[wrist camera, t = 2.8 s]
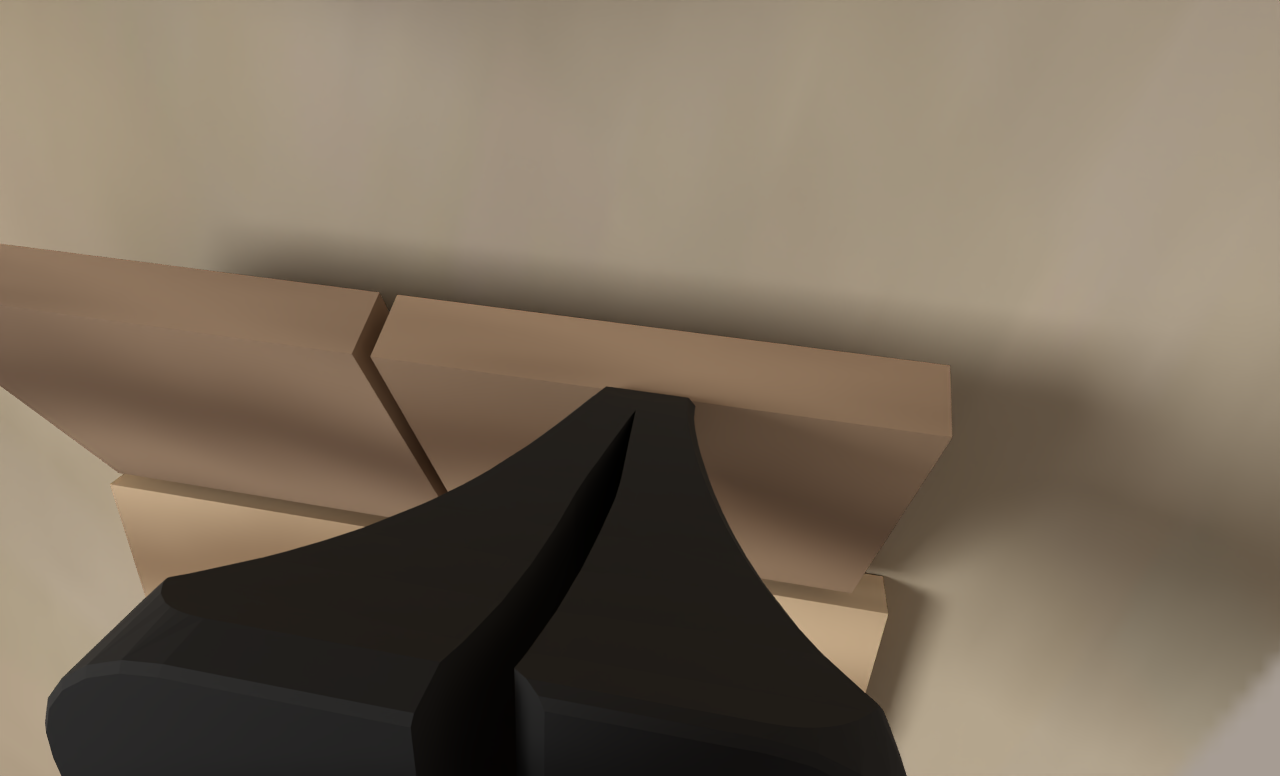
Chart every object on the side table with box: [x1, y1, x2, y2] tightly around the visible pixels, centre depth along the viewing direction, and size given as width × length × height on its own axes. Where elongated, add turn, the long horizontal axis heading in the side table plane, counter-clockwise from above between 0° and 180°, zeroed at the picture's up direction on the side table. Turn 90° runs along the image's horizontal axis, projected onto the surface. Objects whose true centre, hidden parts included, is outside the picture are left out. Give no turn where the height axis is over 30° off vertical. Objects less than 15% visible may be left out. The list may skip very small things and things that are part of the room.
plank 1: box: [0, 244, 448, 517], centre depth 16 cm, size 7×8×1 cm
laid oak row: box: [110, 474, 888, 693], centre depth 21 cm, size 10×18×1 cm, turn 87°
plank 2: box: [370, 295, 952, 593], centre depth 15 cm, size 7×8×1 cm
